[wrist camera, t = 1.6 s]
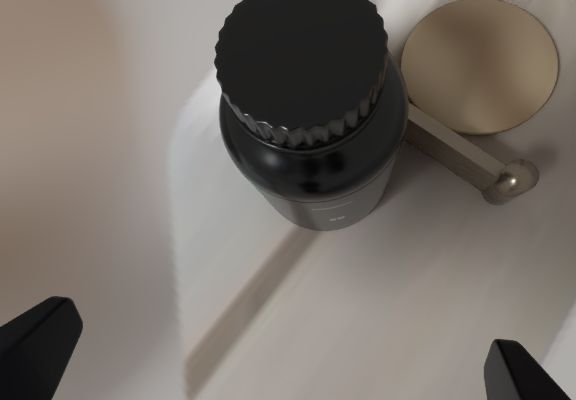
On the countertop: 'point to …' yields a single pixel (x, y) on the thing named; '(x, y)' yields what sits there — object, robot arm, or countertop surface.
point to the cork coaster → (479, 66)
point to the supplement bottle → (311, 106)
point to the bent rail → (470, 159)
